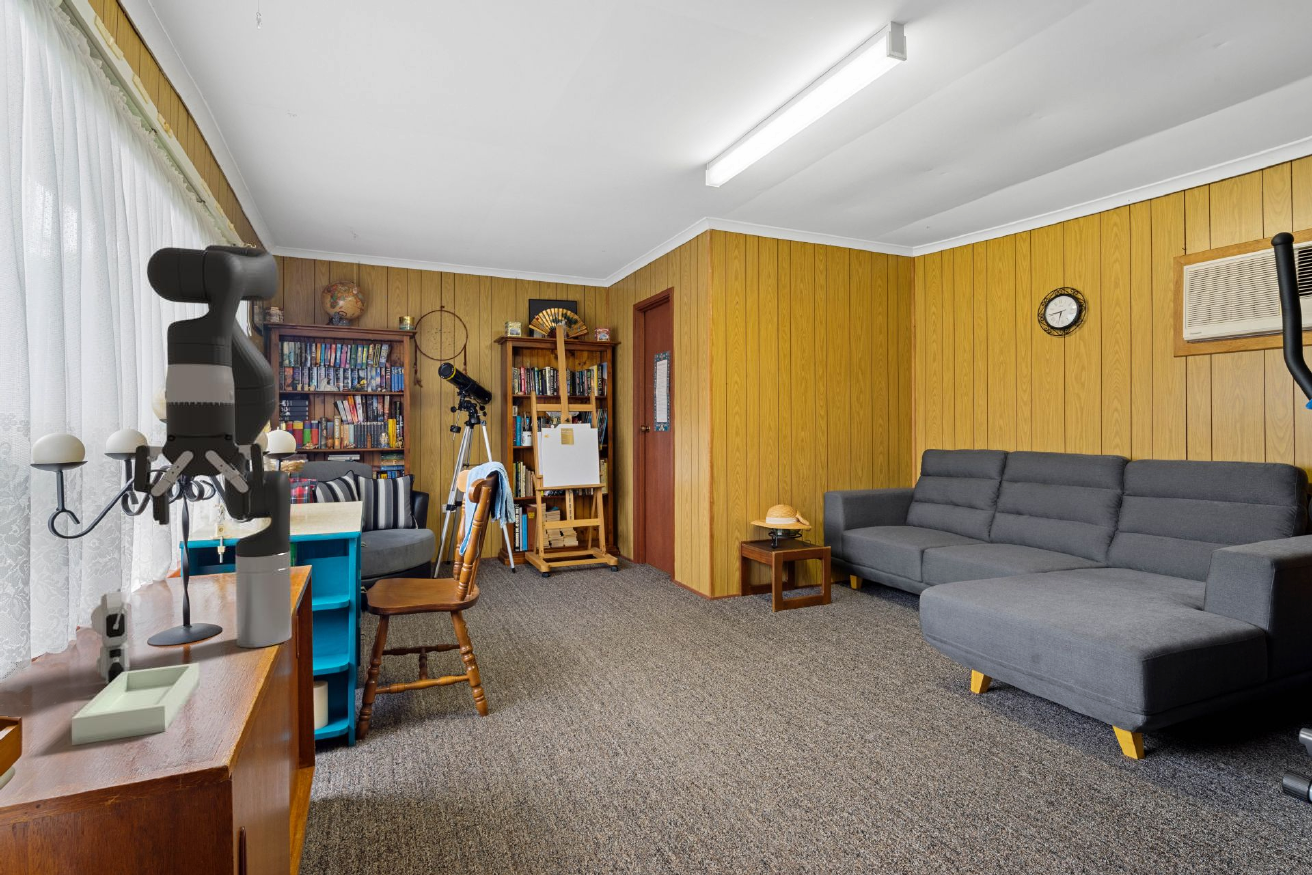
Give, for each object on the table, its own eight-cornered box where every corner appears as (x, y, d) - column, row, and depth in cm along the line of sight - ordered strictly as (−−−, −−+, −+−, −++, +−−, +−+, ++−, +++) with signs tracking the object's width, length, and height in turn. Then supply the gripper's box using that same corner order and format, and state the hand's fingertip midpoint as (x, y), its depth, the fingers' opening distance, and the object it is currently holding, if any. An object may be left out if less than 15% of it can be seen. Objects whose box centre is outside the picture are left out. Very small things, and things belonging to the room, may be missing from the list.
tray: (122, 694, 102) (122, 671, 102) (199, 684, 106) (198, 662, 106) (71, 745, 85) (71, 718, 85) (165, 731, 89) (164, 705, 89)
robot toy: (91, 679, 108) (89, 588, 108) (126, 672, 112) (125, 584, 111) (93, 701, 99) (91, 602, 99) (131, 693, 102) (129, 597, 102)
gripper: (265, 402, 94) (267, 515, 94) (142, 401, 88) (144, 522, 88) (260, 400, 87) (262, 521, 87) (126, 398, 81) (128, 530, 81)
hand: (203, 521), depth 88 cm, fingers open, 8 cm apart
